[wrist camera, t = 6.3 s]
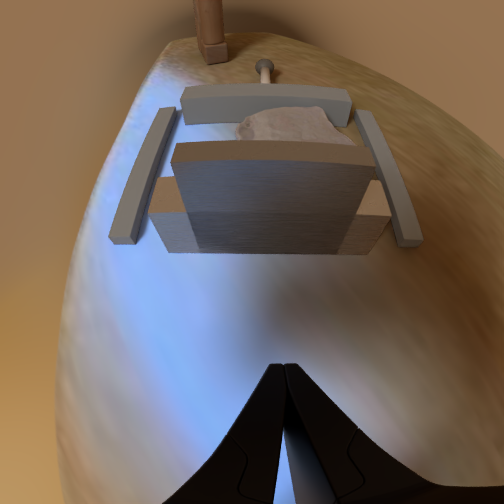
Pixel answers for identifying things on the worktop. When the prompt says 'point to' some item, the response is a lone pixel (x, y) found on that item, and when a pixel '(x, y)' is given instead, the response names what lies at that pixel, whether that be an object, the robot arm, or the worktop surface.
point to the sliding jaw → (269, 198)
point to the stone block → (291, 126)
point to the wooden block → (210, 30)
